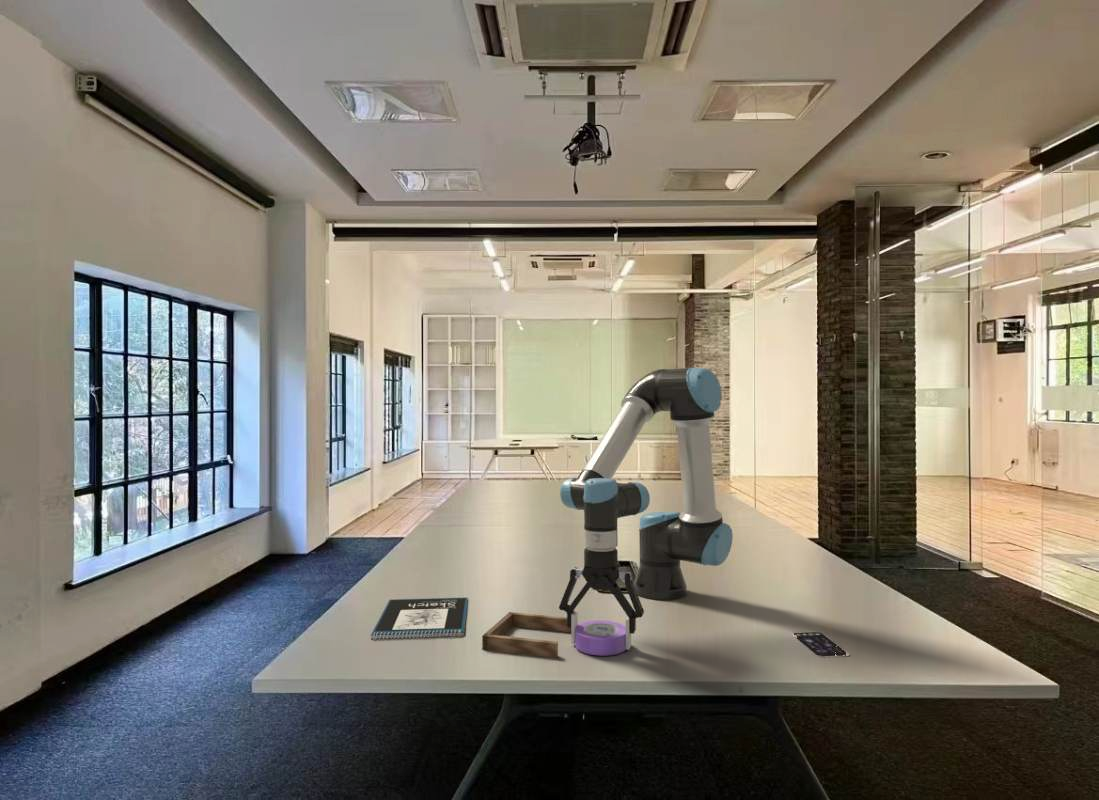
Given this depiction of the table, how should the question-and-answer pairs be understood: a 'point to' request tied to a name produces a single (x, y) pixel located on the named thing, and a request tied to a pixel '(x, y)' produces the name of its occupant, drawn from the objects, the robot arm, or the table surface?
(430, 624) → the sketchbook
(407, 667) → the table surface
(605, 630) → the masking tape
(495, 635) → the wooden u-shaped frame
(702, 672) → the table surface
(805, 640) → the smartphone
